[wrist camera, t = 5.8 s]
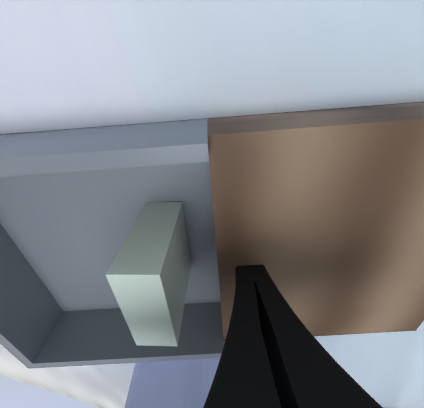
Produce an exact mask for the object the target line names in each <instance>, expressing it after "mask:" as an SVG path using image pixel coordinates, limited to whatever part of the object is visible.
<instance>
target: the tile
mask: <svg viewBox="0 0 424 408" xmlns="http://www.w3.org/2000/svg"><path fill="white" fill-rule="evenodd" d="M190 268H191V263H190V255H189V248H188V241H187V233H186V226H185V218H184V211H183V204H182V202H146V204H145V206H144V208H143V209H142V211H141V213H140V215H139V216H138V218H137V220H136V222H135V223H134V225H133V227H132V229H131V230H130V232H129V234H128V236H127V237H126V239H125V241H124V243H123V244H122V246H121V248H120V250H119V251H118V253H117V255H116V257H115V258H114V260H113V262H112V264H111V265H110V267H109V269H108V271H107V272H106V274H105V275H106V277H107V280H108V282H109V284H110V286H111V289H112V291H113V293H114V295H115V298H116V300H117V302H118V304H119V307H120V309H121V311H122V314H123V316H124V318H125V320H126V323H127V325H128V327H129V329H130V332H131V334H132V336H133V338H134V341H135V343H136V345H144V346H178V341H179V335H180V329H181V323H182V317H183V311H184V305H185V299H186V293H187V287H188V280H189V274H190Z"/></svg>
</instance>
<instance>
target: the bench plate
mask: <svg viewBox="0 0 424 408" xmlns="http://www.w3.org/2000/svg"><path fill="white" fill-rule="evenodd" d="M207 136H208V149H209V162H210V174H211V187H212V199H213V212H214V225H215V237H216V250H217V263H218V275H219V288H220V300H221V313H222V326H223V338H224V341H225V340H226V336H227V332H228V328H229V323H230V319H231V314H232V309H233V303H234V296H235V267H237V266H245V265H261V264H263V265H264V266H265V268H266V270H267V271H268V273H269V275H270V277H271V278H272V280H273V282H274V283H275V285H276V286H277V288H278V290H279V291H280V293H281V294H282V296H283V297H284V298H285V300H286V301H287V303H288V304H289V306H290V307H291V308H292V310H293V311H294V312H295V314H296V315H297V316H298V318H299V319H300V320H301V322H302V323H303V324H304V325H305V327H306V328H307V329H308V330H309V332H310V333H311V334H312V335H313V336H327V335H345V334H362V333H380V332H398V331H415V330H417V328H418V327H419V326H420V324H421V323H422V322H423V320H424V102H416V103H403V104H390V105H377V106H364V107H351V108H338V109H325V110H312V111H299V112H286V113H273V114H260V115H247V116H234V117H221V118H209V119H207Z"/></svg>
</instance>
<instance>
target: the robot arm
mask: <svg viewBox="0 0 424 408" xmlns="http://www.w3.org/2000/svg"><path fill="white" fill-rule="evenodd" d="M125 408H382V407H381V406H380V405H379V404H378V403H377V402H376V401H375V400H374V399H373V398H372V397H371V396H370V395H369V394H368V393H367V392H366V391H365V390H364V389H363V388H362V387H361V386H360V385H359V384H358V383H357V382H356V381H355V380H354V379H353V378H352V377H351V376H350V375H349V374H348V373H347V372H346V371H345V370H344V369H343V368H342V367H341V366H340V365H339V364H338V363H337V362H336V361H335V360H334V359H333V358H332V357H331V356H330V354H329V353H328V352H327V351H326V350H325V349H324V348H323V347H322V346H321V344H320V343H319V342H318V341H317V340H316V339H315V338H314V336H313V335H312V334H311V333H310V332H309V330H308V329H307V328H306V327H305V325H304V324H303V323H302V322H301V320H300V319H299V318H298V316H297V315H296V314H295V312H294V311H293V310H292V308H291V307H290V306H289V304H288V303H287V301H286V300H285V298H284V297H283V296H282V294H281V293H280V291H279V290H278V288H277V286H276V285H275V283H274V282H273V280H272V278H271V277H270V275H269V273H268V271H267V270H266V268H265V266H264V265H263V264H261V265H245V266H237V267H235V296H234V303H233V309H232V314H231V319H230V323H229V328H228V332H227V336H226V340H225V343H224V347H223V351H222V354H221V357H220V358H209V359H191V360H172V361H154V362H136V363H135V367H134V371H133V376H132V380H131V384H130V388H129V392H128V396H127V400H126V405H125Z"/></svg>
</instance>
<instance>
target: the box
mask: <svg viewBox="0 0 424 408" xmlns="http://www.w3.org/2000/svg"><path fill="white" fill-rule="evenodd" d="M146 202H182V204H183V211H184V218H185V226H186V233H187V241H188V248H189V255H190V263H191V268H190V274H189V280H188V287H187V293H186V299H185V305H184V311H183V317H182V323H181V329H180V335H179V341H178V346H144V345H136V343H135V341H134V338H133V336H132V334H131V332H130V329H129V327H128V325H127V323H126V320H125V318H124V316H123V314H122V311H121V309H120V307H119V304H118V302H117V300H116V298H115V295H114V293H113V291H112V289H111V286H110V284H109V282H108V280H107V277H106V275H105V274H106V272H107V271H108V269H109V267H110V265H111V264H112V262H113V260H114V258H115V257H116V255H117V253H118V251H119V250H120V248H121V246H122V244H123V243H124V241H125V239H126V237H127V236H128V234H129V232H130V230H131V229H132V227H133V225H134V223H135V222H136V220H137V218H138V216H139V215H140V213H141V211H142V209H143V208H144V206H145V204H146ZM0 344H2V345H3V346H4V347H5V348H6V349H7V350H8V351H9V352H10V353H12V354H13V355H14V356H15V357H16V358H17V359H18V360H19V361H21V362H22V363H23V364H24V365H25V366H26V367H27V368H45V367H64V366H82V365H100V364H118V363H136V362H154V361H172V360H191V359H209V358H220V357H221V354H222V351H223V347H224V338H223V326H222V313H221V300H220V288H219V275H218V263H217V250H216V237H215V225H214V212H213V199H212V187H211V174H210V162H209V149H208V136H207V119H196V120H183V121H170V122H157V123H144V124H131V125H118V126H105V127H92V128H79V129H66V130H53V131H40V132H27V133H14V134H1V135H0Z"/></svg>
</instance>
